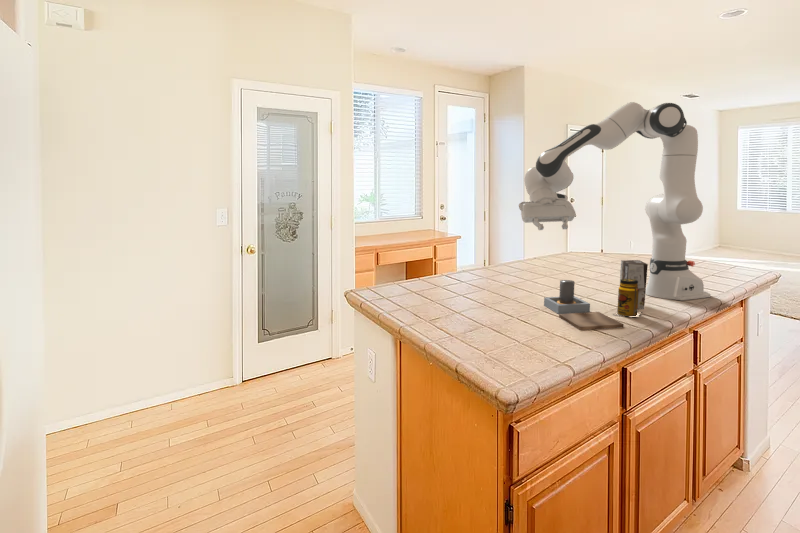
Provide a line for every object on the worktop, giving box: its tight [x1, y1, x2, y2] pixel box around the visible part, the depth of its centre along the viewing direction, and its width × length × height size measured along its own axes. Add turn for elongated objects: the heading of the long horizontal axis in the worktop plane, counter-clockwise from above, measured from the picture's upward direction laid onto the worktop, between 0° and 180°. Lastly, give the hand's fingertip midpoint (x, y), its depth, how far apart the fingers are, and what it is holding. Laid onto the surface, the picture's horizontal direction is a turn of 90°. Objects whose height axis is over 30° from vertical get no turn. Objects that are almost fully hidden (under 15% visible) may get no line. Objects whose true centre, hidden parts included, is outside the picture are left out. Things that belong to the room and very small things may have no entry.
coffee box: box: [619, 259, 649, 310], centre depth 158 cm, size 9×6×16 cm
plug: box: [557, 279, 576, 304], centre depth 157 cm, size 6×6×10 cm
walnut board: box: [558, 311, 625, 331], centre depth 142 cm, size 14×14×1 cm
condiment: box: [613, 279, 644, 317], centre depth 148 cm, size 7×8×12 cm
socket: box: [543, 295, 591, 315], centre depth 157 cm, size 11×11×3 cm
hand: (553, 228), depth 165 cm, fingers open, 8 cm apart
